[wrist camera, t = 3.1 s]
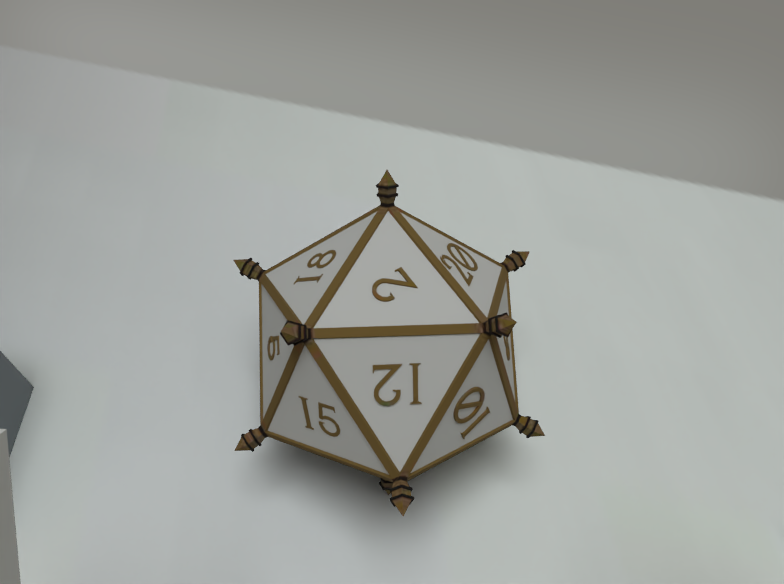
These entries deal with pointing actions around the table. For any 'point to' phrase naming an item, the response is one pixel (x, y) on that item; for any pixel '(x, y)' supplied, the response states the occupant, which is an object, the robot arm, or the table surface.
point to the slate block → (12, 399)
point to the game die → (386, 347)
